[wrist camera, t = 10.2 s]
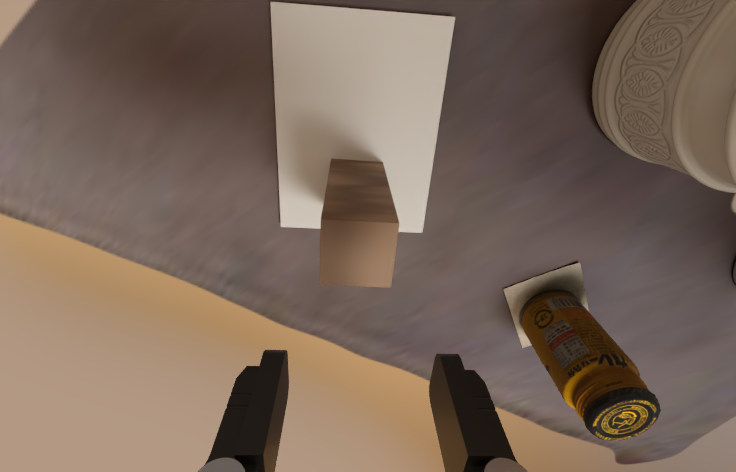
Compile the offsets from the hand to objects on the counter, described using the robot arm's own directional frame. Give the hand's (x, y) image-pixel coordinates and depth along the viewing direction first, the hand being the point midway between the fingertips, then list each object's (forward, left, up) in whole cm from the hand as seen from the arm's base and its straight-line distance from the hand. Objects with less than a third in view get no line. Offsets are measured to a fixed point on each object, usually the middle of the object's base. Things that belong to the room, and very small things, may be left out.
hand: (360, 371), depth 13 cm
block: (0, 0, -19) cm, 19 cm away
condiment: (-20, +12, -20) cm, 31 cm away
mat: (0, -4, -19) cm, 20 cm away
